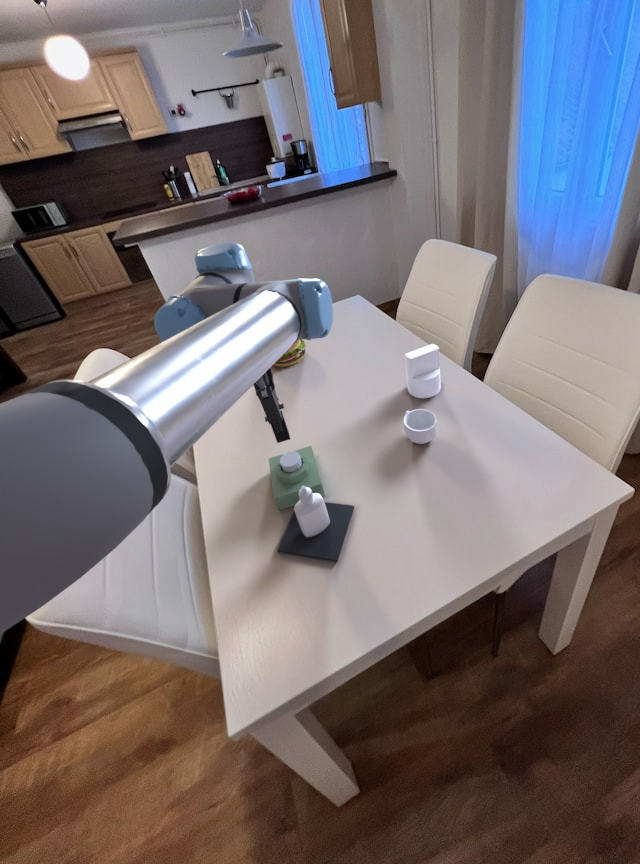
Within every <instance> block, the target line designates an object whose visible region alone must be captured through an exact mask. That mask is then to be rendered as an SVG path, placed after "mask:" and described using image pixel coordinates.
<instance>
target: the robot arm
mask: <svg viewBox="0 0 640 864" xmlns="http://www.w3.org/2000/svg"><path fill="white" fill-rule="evenodd" d="M194 262H195V266H196V271H197V273H198V275H197V276H196V277H195V279H193V280H192V281H191V282H189V283H187V285H185V286H184V287H183V288H182V289H180V290H179V291H177V292H176V293H175V294H172V296H170V297H169V298H168V299H167V301H165V303H164V304H163V305H161V307H159V309H158V310H157V311H156V313H155V315H154V318H153V319H154V320H153V325H154V329H155V331H156V334H157V336H158V338H159V340H160V341H161V342H160V343H158V344H156V345H154V346H152V347H151V348H148V349H146V350H145V351H143V352H141V353H139V354H137V355H136V356H134V357H132V358H130V359H129V360H127V361H124V362H123V363H121V364H119V365H117V366H115V367H113V368H111V369H110V370H108V371H106V372H104V373H102V374H100V375H99V376H96V377H95V378H93V379H90V380H89V381H84V380H78V379H69V378H67V379H66V378H65V379H56V380H52V381H49V382H46V383H44V384H41V385H40V386H38V387H36V388H34V389H31V390H30V391H27V392H25V393H23V394H21V395H19V396H17V397H14V398H11V399H9V400H7V401H4V402H1V403H0V635H1V634H3V633H4V632H6V631H7V630H9V629H10V628H12V627H13V626H15V625H16V624H18V623H20V622H21V621H22V620H24V619H26V618H27V617H29V616H30V615H32V614H33V613H35V612H36V611H38V610H40V609H41V608H43V607H44V606H45V605H47V603H49V602H51V601H52V600H53V599H55V598H56V597H57V596H58V595H60V594H61V593H62V592H64V591H65V590H67V589H68V588H69V587H70V586H72V585H73V584H74V583H76V582H77V581H78V580H80V579H81V578H83V576H85V575H86V574H87V573H88V572H89V571H91V570H92V569H93V568H94V567H95V566H96V565H98V564H99V563H100V562H101V561H102V560H104V559H105V558H106V557H107V556H108V555H109V554H111V552H113V551H114V550H115V549H116V548H117V547H119V545H120V544H121V543H123V542H124V541H125V540H126V539H127V538H128V536H129V535H131V533H132V532H134V531H135V530H136V529H137V528H138V526H140V525H141V524H142V523H143V522H144V521H145V519H146V518H147V517H148V516H149V515H150V513H152V511H153V510H154V509H155V508H156V507H157V506H158V505H159V504H160V503H161V502H162V501H163V500H164V498H165V497H166V495H167V494H168V491H169V488H170V485H171V479H172V473H171V471H172V470H171V468H173V466H175V464H176V463H177V462H178V461H180V459H181V458H182V457H183V456H184V455H185V454H186V453H187V452H188V451H189V450H190V449H191V448H192V447H193V446H194V445H195V444H196V443H197V442H198V441H199V440H200V439H201V438H202V437H203V436H204V435H205V434H206V433H207V432H208V431H209V430H210V429H211V428H212V427H213V426H214V425H215V424H216V423H217V422H218V421H219V420H220V419H221V418H222V416H224V415H225V413H227V412H228V411H229V410H230V409H231V408H232V406H234V405H235V404H236V402H238V401H239V400H240V399H241V398H242V396H244V394H246V392H248V390H249V389H251V387H252V386H253V387H254V390H255V395H256V396H257V398H258V400H259V402H260V405H261V407H262V409H263V412H264V414H265V416H264V421H265V422H266V423H267V422H268V424H269V425H270V427H271V429H272V433H273V435H274V437H275V441H276V444H279V443H282V442H286V441H289V440H291V435H290V432H289V428H288V426H287V422H286V419H285V416H284V413H283V411H282V410H284V409H285V406H284V403H279V402H280V399H279V397H278V395H277V391H276V386H275V382H274V376H273V375H274V374H273V371H272V366H274V365H273V364H274V363H275V362H276V361H277V360H278V359H279V358H280V357H281V356H282V355H283V354H284V353H285V352H286V351H287V350H288V349H289V348H290V347H291V346H292V345H293V344H294V343H295V342H296V341H297V340H299V339H302V340H307V341H311V340H317V339H323V338H326V337H327V336H329V334H330V332H331V330H332V326H333V321H334V306H333V298H332V294H331V291H330V289H329V286H328V285H327V283H326V282H325V281H323V280H322V279H320V278H301V277H297V278H296V279H285V280H283V279H282V280H271V281H258V282H256V280H255V276H254V272H253V266H252V265H251V262H250V261H249V257H248V255H247V252H246V250H245V248H244V247H243V246H242V245H241V244H239V243H236V242H221V243H217V244H216V243H215V244H212V245H208V246H206V247H204V248H202V249H200V250H199V251H197V252H196V253H195V256H194Z"/></svg>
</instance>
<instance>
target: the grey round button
mask: <svg viewBox="0 0 640 864" xmlns="http://www.w3.org/2000/svg"><path fill="white" fill-rule="evenodd" d="M294 451H295V450H293V451H292V450H291V451H287V452H285V453H283V454H284V455H282V454H281V455H282V457H281V458H280V464H281V467H282V470H283V471H284V472H286V473H293V472H296V471H297V470H299V469H300V468H301V466H302V461H301V457H300V455H299V453H297V452H294Z"/></svg>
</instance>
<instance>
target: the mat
mask: <svg viewBox="0 0 640 864" xmlns="http://www.w3.org/2000/svg"><path fill="white" fill-rule="evenodd" d="M324 502H325V506H326V509H327V512H328V516H329V519H330V524H329V525H328V527H327V528H326V529H325V530H324V531H322V532H321V533H319V534H317V535H315V536H312V537H306V536H305V535H304V534H303V532H302V530H301V527H300V525H299V522H298V519H297V517H296V514H295V511H294V510H293V513H292V515H291V517H290V519H289V522H288V523H287V527H286V529H285V531H284V533H283V536H282V538H281V540H280V543H279V545H278V547H277V549H276V552H277V553H280V554H287V555H293V556H297V557H304V558H309V559H310V558H311V559H316V560H323V561H329V562H334V563H338V562H339V558H340V555H341V552H342V548H343V545H344V541H345V539H346V535H347V532H348V528H349V525H350V522H351V519H352V515H353V512H354V508H355V505H350V504H344V503H343V504H341V503H334V502H328V501H327V502H326V501H324Z"/></svg>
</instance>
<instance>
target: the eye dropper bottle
mask: <svg viewBox="0 0 640 864" xmlns="http://www.w3.org/2000/svg"><path fill="white" fill-rule="evenodd" d="M298 495H299V498H300V500H299V501H298V502H297V504H296V505H295V506H293V512H294V511H295V514H296V517H297V519H298V522H299V525H300V527H301V530H302V532H303V534H304V535H305V536H306V537H312V536H315V535H317V534H319V533H321V532H322V531H324V530H325V529H326V528H327V527H328V525H329V524H330V519H329V516H328V512H327V509H326V506H325V502H326V501H325V500H324V498H323V497H322V496H321V495H320V494H319V493H312V490H311V489H310V488H309V487H305V486H302V487H301V489H300V491H299V493H298Z"/></svg>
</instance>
